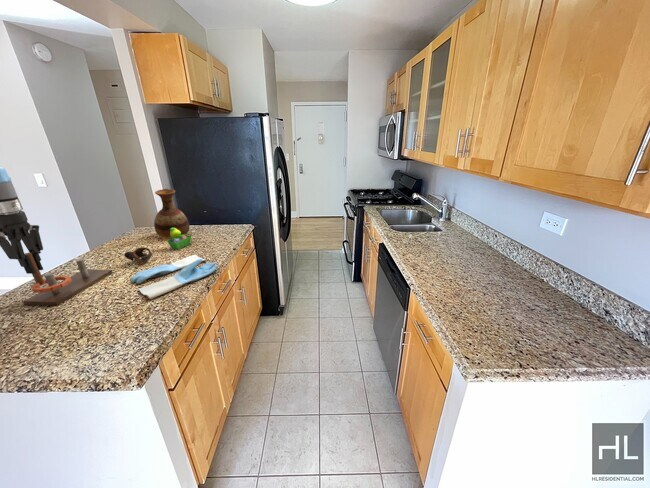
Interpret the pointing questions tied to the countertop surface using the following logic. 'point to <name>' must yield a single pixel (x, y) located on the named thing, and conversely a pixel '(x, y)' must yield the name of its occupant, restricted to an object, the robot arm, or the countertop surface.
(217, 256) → the countertop surface
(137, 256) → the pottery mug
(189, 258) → the rubber gloves
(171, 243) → the fruit basket
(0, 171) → the robot arm
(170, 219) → the brown pottery vase
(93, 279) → the rack
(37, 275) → the ring
